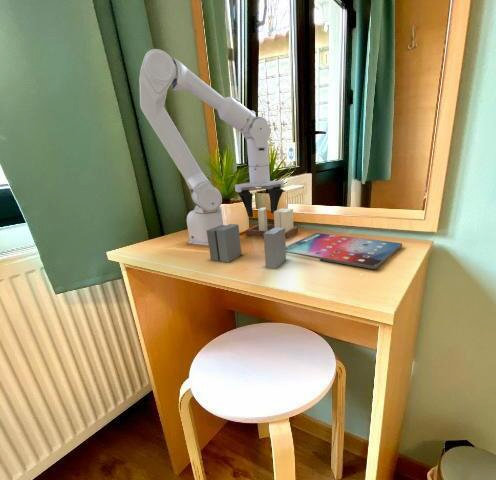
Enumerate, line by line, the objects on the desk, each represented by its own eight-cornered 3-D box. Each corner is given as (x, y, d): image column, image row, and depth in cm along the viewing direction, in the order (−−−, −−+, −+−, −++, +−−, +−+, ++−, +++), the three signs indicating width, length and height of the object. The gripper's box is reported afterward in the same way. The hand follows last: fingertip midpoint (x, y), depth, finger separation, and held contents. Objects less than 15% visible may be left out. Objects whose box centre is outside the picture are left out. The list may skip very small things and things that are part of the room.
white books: (274, 235, 87) (273, 211, 85) (282, 231, 92) (281, 208, 89) (286, 236, 86) (285, 212, 83) (293, 232, 90) (293, 208, 87)
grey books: (210, 260, 71) (206, 228, 68) (224, 253, 76) (220, 223, 73) (275, 268, 65) (273, 234, 62) (286, 260, 69) (285, 227, 66)
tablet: (316, 234, 89) (316, 232, 88) (403, 246, 75) (403, 243, 75) (277, 252, 75) (277, 249, 74) (376, 271, 61) (376, 267, 61)
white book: (259, 234, 89) (257, 210, 86) (261, 230, 94) (260, 207, 91) (265, 234, 89) (263, 210, 86) (267, 230, 94) (266, 207, 91)
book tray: (246, 237, 90) (245, 230, 89) (259, 230, 96) (259, 223, 96) (286, 240, 85) (286, 233, 84) (298, 233, 91) (297, 226, 91)
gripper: (239, 168, 78) (244, 220, 83) (288, 164, 84) (290, 213, 89) (230, 167, 83) (235, 216, 89) (276, 164, 90) (278, 210, 95)
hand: (262, 215), depth 89 cm, fingers open, 7 cm apart
